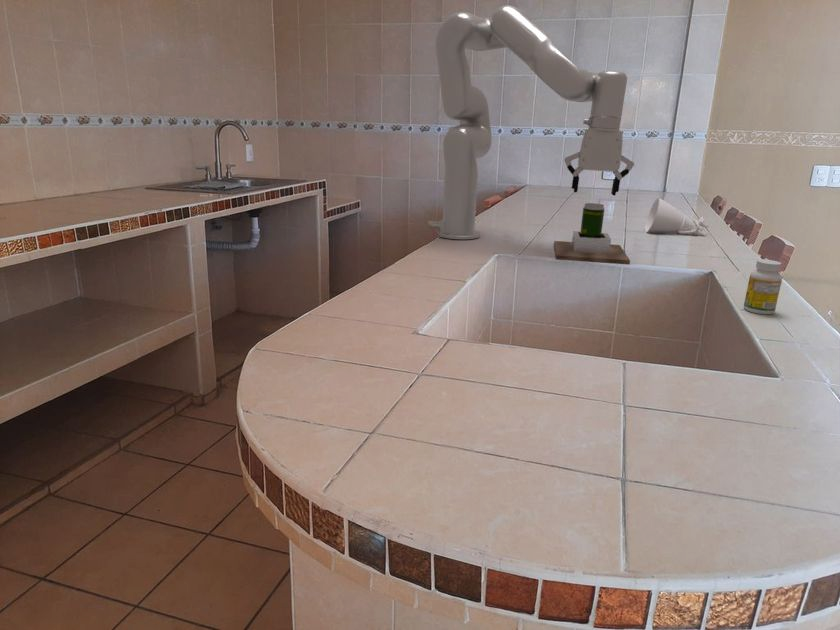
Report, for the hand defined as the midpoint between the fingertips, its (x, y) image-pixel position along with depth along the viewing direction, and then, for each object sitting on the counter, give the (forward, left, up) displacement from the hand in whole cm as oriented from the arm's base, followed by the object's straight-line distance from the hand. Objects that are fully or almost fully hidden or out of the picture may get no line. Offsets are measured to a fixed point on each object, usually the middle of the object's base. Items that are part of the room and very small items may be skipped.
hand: (594, 193), depth 156 cm
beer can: (0, 0, -15) cm, 15 cm away
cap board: (+1, 0, -16) cm, 16 cm away
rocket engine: (+31, +41, -16) cm, 54 cm away
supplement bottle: (+29, -44, -16) cm, 55 cm away
